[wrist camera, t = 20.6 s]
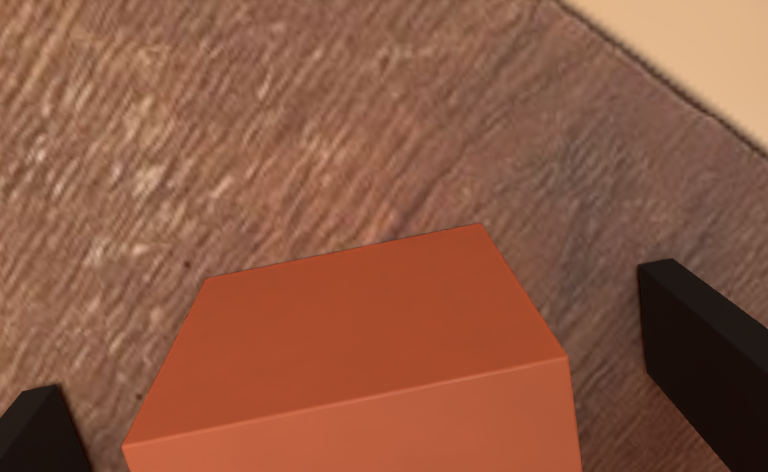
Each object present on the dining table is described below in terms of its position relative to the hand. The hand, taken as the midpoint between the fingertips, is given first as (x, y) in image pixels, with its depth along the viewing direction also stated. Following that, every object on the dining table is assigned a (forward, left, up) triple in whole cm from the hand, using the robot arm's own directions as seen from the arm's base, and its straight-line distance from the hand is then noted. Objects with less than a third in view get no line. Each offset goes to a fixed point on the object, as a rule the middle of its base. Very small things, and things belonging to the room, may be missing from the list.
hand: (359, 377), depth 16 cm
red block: (0, 0, 0) cm, 0 cm away
